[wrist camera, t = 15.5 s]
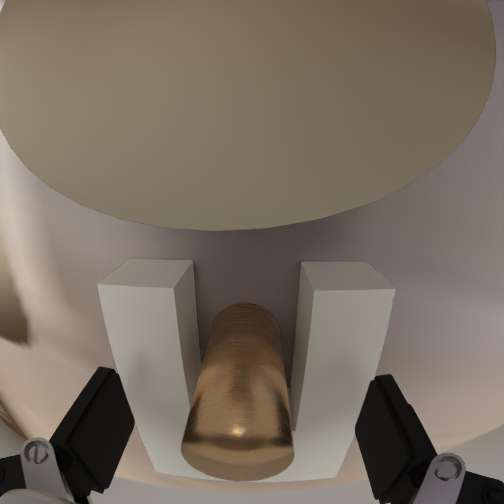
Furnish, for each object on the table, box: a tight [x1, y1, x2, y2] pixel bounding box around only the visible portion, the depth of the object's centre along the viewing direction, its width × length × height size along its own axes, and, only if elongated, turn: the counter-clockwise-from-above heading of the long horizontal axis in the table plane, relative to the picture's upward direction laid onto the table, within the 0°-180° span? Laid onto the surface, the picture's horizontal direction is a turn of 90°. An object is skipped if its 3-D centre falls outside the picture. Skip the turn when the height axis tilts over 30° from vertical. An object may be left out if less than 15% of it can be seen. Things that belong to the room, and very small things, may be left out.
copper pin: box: [181, 303, 295, 481], centre depth 11 cm, size 4×4×8 cm
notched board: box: [97, 259, 396, 482], centre depth 14 cm, size 14×12×4 cm
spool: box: [0, 0, 496, 231], centre depth 7 cm, size 9×9×10 cm
